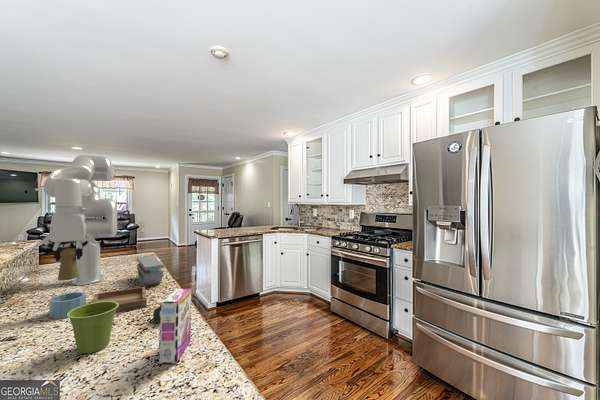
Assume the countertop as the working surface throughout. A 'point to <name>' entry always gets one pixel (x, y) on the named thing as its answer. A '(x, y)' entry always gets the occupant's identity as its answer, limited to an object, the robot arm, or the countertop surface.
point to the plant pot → (92, 325)
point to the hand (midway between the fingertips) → (68, 259)
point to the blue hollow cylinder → (65, 304)
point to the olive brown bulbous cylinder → (68, 264)
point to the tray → (124, 298)
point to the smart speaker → (156, 315)
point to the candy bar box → (174, 325)
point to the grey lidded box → (149, 270)
